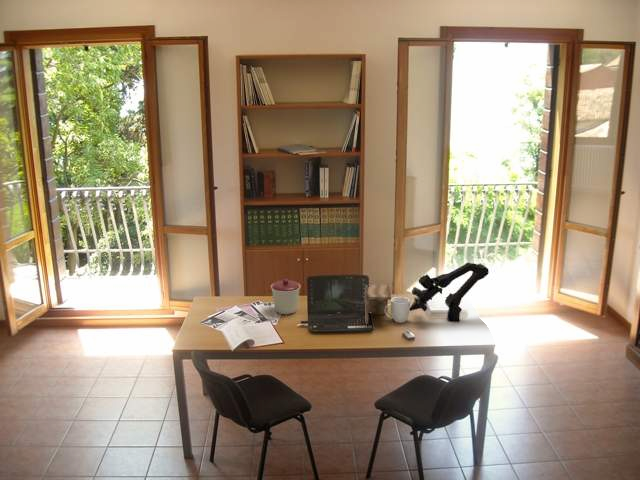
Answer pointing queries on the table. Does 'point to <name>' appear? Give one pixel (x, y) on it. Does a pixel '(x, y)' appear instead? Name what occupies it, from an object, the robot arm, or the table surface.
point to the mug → (399, 309)
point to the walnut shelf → (376, 299)
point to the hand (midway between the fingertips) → (409, 310)
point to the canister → (285, 296)
